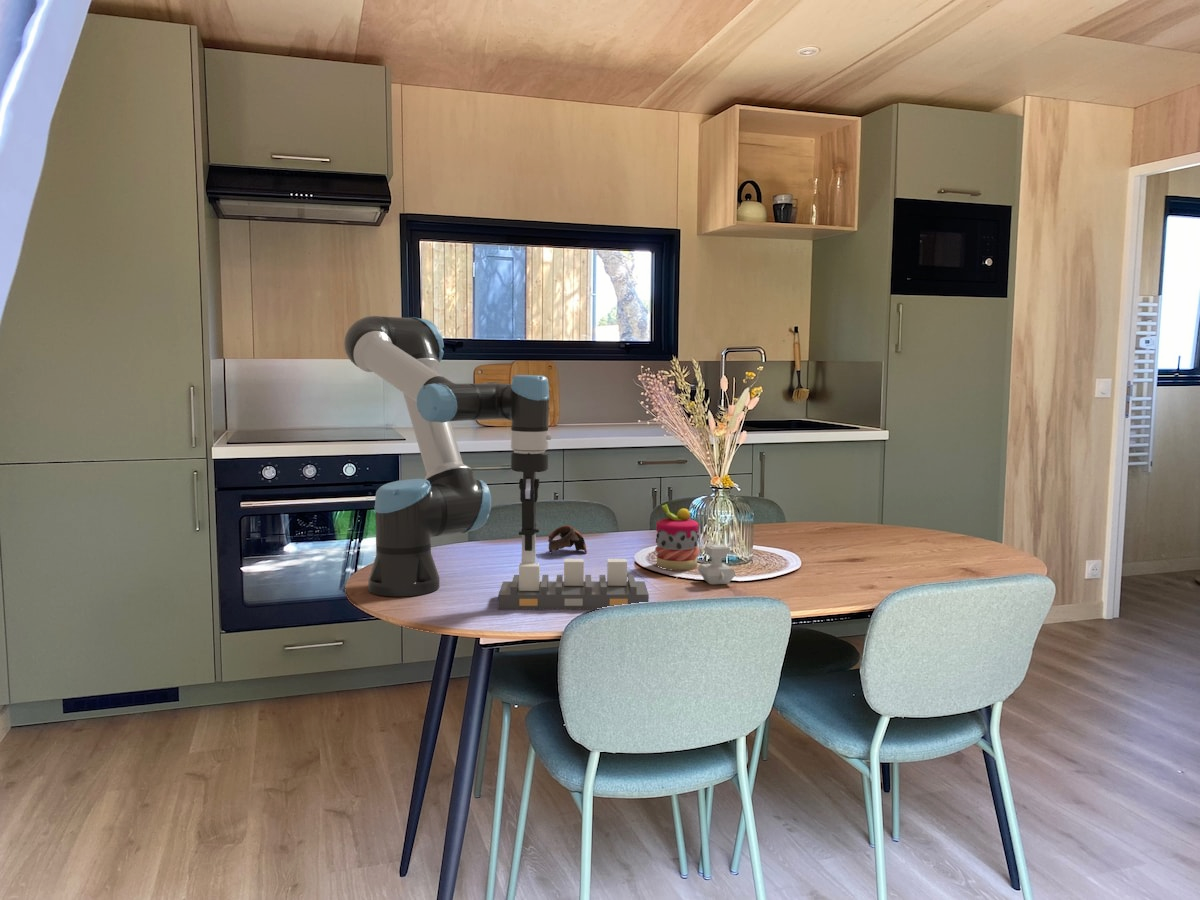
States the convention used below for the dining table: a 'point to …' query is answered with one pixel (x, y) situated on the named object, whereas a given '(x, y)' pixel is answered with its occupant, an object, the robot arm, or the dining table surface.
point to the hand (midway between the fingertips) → (528, 565)
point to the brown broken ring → (566, 539)
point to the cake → (677, 541)
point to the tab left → (529, 576)
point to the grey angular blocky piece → (716, 566)
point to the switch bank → (571, 594)
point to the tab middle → (573, 572)
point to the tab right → (617, 572)
